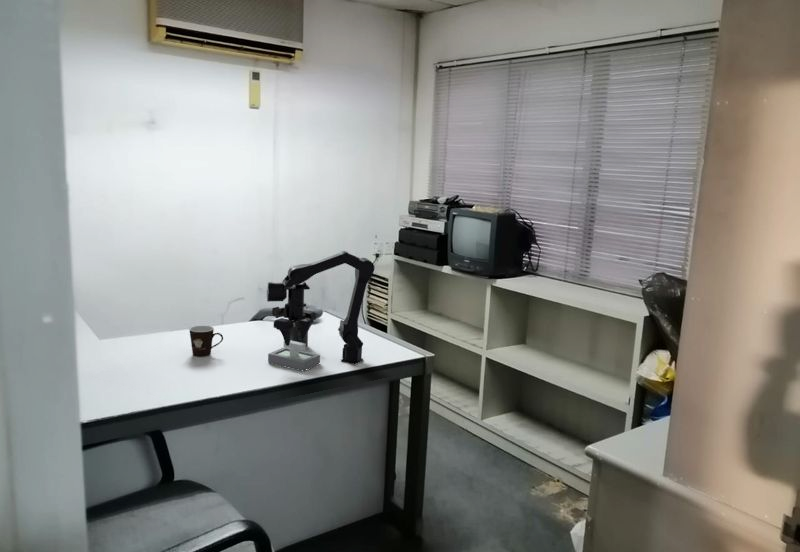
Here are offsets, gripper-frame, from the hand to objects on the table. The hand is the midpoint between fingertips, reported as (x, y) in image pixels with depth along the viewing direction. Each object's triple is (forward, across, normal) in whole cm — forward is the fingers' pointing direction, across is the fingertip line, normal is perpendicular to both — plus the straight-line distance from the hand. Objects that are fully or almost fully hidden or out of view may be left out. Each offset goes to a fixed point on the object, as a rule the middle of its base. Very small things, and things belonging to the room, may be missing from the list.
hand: (295, 342), depth 221 cm
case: (+8, 0, 0) cm, 8 cm away
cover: (+6, 0, 0) cm, 6 cm away
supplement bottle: (+8, -17, -10) cm, 21 cm away
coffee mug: (+8, +12, -32) cm, 35 cm away
